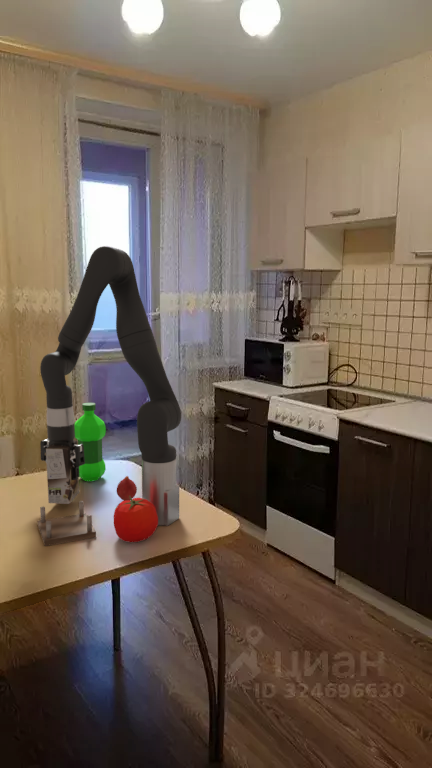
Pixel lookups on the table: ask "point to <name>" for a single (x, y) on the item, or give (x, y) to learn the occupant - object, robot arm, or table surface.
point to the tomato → (135, 520)
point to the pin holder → (66, 527)
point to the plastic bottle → (91, 443)
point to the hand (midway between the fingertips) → (63, 477)
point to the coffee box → (60, 475)
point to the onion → (126, 489)
